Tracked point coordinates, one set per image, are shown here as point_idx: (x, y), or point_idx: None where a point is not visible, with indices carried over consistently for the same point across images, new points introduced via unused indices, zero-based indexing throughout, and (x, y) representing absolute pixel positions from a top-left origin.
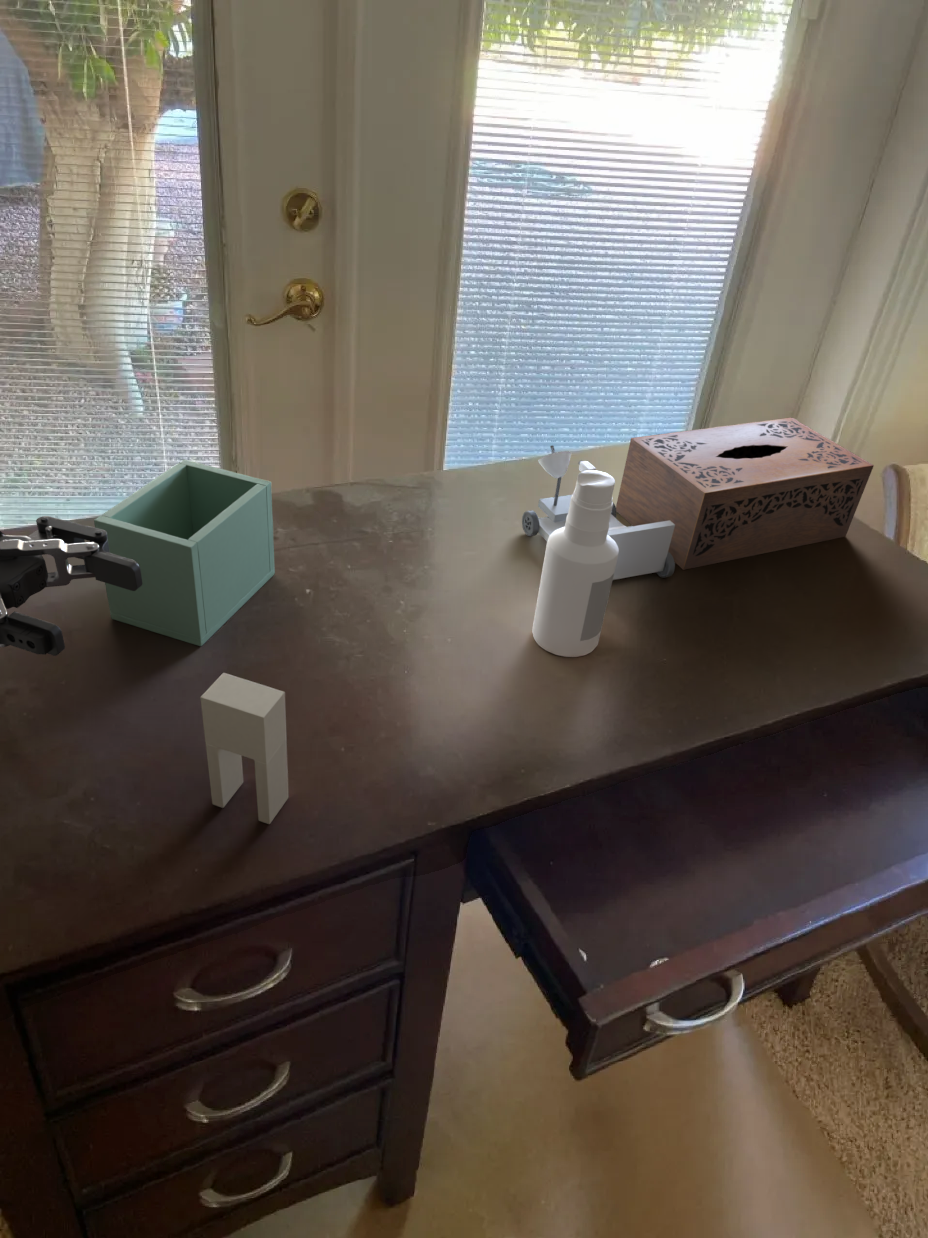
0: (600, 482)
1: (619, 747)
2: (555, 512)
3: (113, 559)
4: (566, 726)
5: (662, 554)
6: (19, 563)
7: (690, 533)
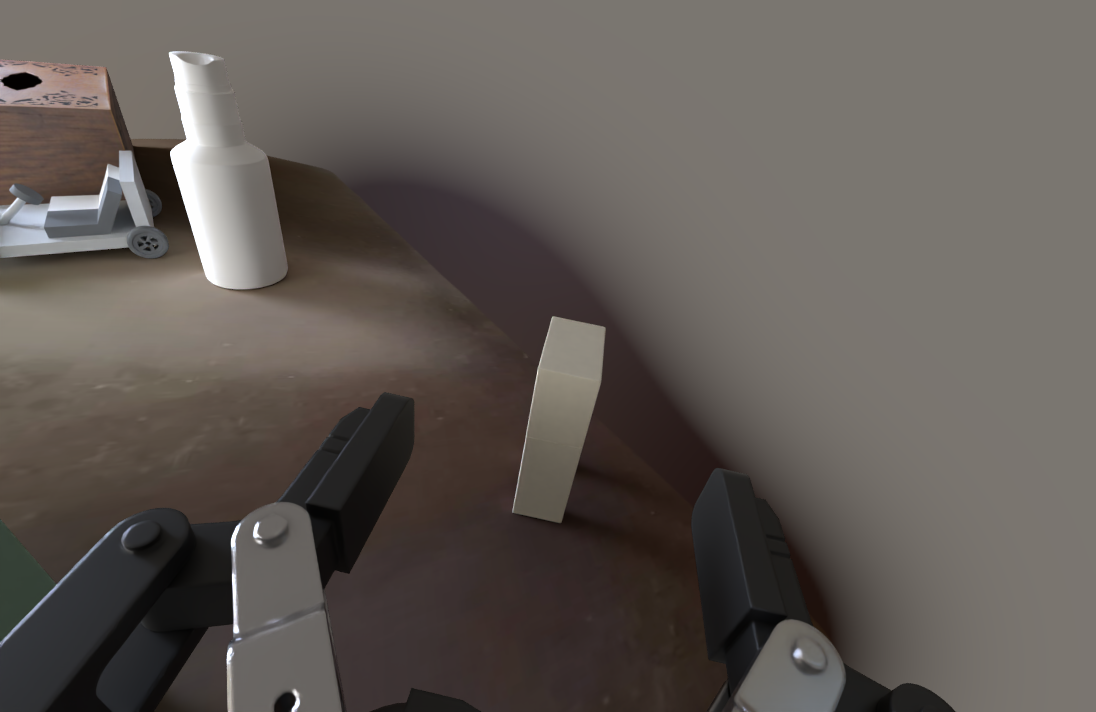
0: (208, 57)
1: (415, 267)
2: None
3: (366, 443)
4: (391, 286)
5: (144, 189)
6: None
7: None
